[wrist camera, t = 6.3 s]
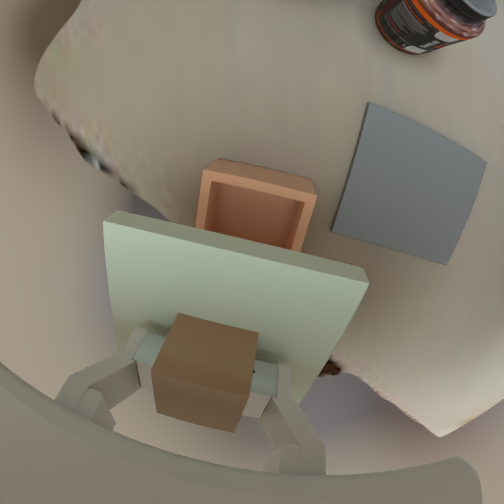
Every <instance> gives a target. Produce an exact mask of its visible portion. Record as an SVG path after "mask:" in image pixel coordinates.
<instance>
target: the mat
mask: <svg viewBox="0 0 504 504" xmlns="http://www.w3.org/2000/svg"><path fill="white" fill-rule="evenodd" d="M486 163H487V162H485V161H484V160H482V159H481V158H479V157H478V156H476V155H475V154H473V153H472V152H470V151H468V150H467V149H465V148H463V147H462V146H460V145H458V144H457V143H455V142H453V141H452V140H450V139H448V138H446V137H444V136H443V135H441V134H439V133H437V132H435V131H433V130H431V129H429V128H427V127H425V126H423V125H421V124H419V123H417V122H415V121H413V120H411V119H409V118H407V117H404V116H402V115H400V114H398V113H395V112H393V111H391V110H388V109H386V108H383V107H381V106H378V105H376V104H373V103H370V102H368V103H367V108H366V112H365V116H364V120H363V123H362V127H361V131H360V135H359V138H358V142H357V146H356V149H355V153H354V156H353V160H352V163H351V167H350V170H349V173H348V177H347V180H346V183H345V187H344V190H343V193H342V196H341V199H340V202H339V205H338V209H337V212H336V215H335V218H334V221H333V224H332V227H331V229H330V230H331V232H333V233H336V234H340V235H344V236H348V237H351V238H355V239H358V240H362V241H366V242H369V243H373V244H376V245H380V246H383V247H387V248H390V249H394V250H397V251H400V252H404V253H407V254H410V255H414V256H417V257H420V258H424V259H427V260H430V261H433V262H436V263H440V264H443V265H447V263H448V261H449V259H450V257H451V255H452V253H453V251H454V249H455V246H456V244H457V242H458V240H459V238H460V235H461V233H462V231H463V228H464V226H465V224H466V221H467V219H468V216H469V214H470V211H471V209H472V206H473V203H474V200H475V198H476V195H477V192H478V189H479V186H480V183H481V180H482V177H483V173H484V170H485V167H486Z"/></svg>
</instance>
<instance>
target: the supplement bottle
mask: <svg viewBox="0 0 504 504" xmlns="http://www.w3.org/2000/svg"><path fill="white" fill-rule="evenodd" d="M496 12H497V5H496V1H495V0H383V1H382V2H381V3H380V5H379V6H378V8H377V11H376V20H377V24H378V27H379V29H380V30H381V32H382V34H383V35H384V36H385V37H386V39H387V40H388V41H389V42H390V43H392V44H393V45H394V46H395V47H397V48H399V49H400V50H403V51H405V52H408V53H411V54H423V53H428V52H430V51H433V50H436V49H439V48H442V47H445V46H448V45H451V44H455V43H458V42H461V41H465V40H468V39H472V38H475V37H477V36H478V35H480V34H481V33H482V32H483V30H484V27H485V20H486V19H487V18H490V17H493V16H494V15H495V14H496Z"/></svg>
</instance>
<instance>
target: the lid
mask: <svg viewBox="0 0 504 504" xmlns="http://www.w3.org/2000/svg"><path fill="white" fill-rule="evenodd" d="M103 232H104V248H105V259H106V270H107V280H108V288H109V295H110V302H111V309H112V315H113V320H114V326H115V332H116V337H117V341H118V346H119V351H120V352H121V351H122V349H123V347H124V346H125V344H126V342H127V341H128V339H129V337H130V336H131V334H132V332H133V331H134V329H135V328H136V327H137V326H139V327H142V328H145V329H148V330H151V331H154V332H157V333H160V334H163V335H166V336H167V337H166V339H165V341H164V343H163V345H162V347H161V349H160V351H159V354H158V356H157V358H156V360H155V362H154V364H153V366H152V369H151V377H152V385H153V391H154V398H155V404H156V410H157V413H160V414H163V415H166V416H170V417H173V418H176V419H179V420H183V421H186V422H190V423H194V424H197V425H201V426H205V427H209V428H214V429H218V430H223V431H228V432H232V433H234V431H235V429H236V427H237V425H238V422H239V420H240V418H241V415H242V413H243V411H244V408H245V406H246V404H247V401H248V399H249V396H250V389H251V383H252V376H253V369H254V362H255V358H258V359H263V360H268V361H274V362H277V363H284V364H289V365H291V400H295V402H296V403H297V405H298V404H299V403H300V401H301V400H302V399H303V397H304V396H305V394H306V393H307V391H308V390H309V388H310V387H311V385H312V384H313V382H314V381H315V379H316V378H317V376H318V375H319V373H320V371H321V370H322V368H323V367H324V365H325V364H326V362H327V360H328V359H329V357H330V355H331V354H332V352H333V350H334V349H335V347H336V345H337V344H338V342H339V340H340V338H341V337H342V335H343V333H344V331H345V330H346V328H347V326H348V324H349V322H350V321H351V319H352V317H353V315H354V313H355V311H356V309H357V307H358V306H359V304H360V302H361V300H362V298H363V296H364V294H365V292H366V290H367V288H368V286H369V284H370V283H369V281H368V278H367V276H366V274H365V271H364V269H363V267H359V266H355V265H351V264H347V263H342V262H338V261H334V260H330V259H326V258H322V257H318V256H314V255H310V254H305V253H301V252H297V251H293V250H289V249H284V248H280V247H276V246H272V245H268V244H263V243H259V242H255V241H251V240H246V239H242V238H238V237H233V236H229V235H225V234H220V233H216V232H212V231H207V230H203V229H199V228H194V227H190V226H185V225H181V224H177V223H172V222H168V221H163V220H159V219H154V218H150V217H145V216H141V215H136V214H132V213H127V212H122V211H116V212H115V213H113V214H112V215H111V216H109V217H108V218H106V219H105V220H103Z"/></svg>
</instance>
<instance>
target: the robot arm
mask: <svg viewBox="0 0 504 504" xmlns="http://www.w3.org/2000/svg"><path fill="white" fill-rule="evenodd" d="M166 337H167V336H166V335H163V334H160V333H157V332H154V331H151V330H148V329H145V328H142V327H139V326H137V327H136V328H135V329H134V331H133V332H132V334H131V336H130V337H129V339H128V341H127V342H126V344H125V346H124V347H123V349H122V351H121V352H120V354H119V355H118V354H114V355H112V356H110V357H108V358H106V359H104V360H102V361H100V362H98V363H96V364H93V365H92V366H89V367H87V368H85V369H83V370H81V371H79V372H77V373H74V374H72V375H70V376H69V377H68V379H67V380H66V382H65V384H64V385H63V387H62V388H61V390H60V392H59V393H58V395H57V397H56V398H55V400H53V399H51V398H50V397H48V396H46V395H45V394H43V393H42V392H40V391H39V390H37V389H35V388H34V387H33V386H31V385H30V384H28V383H27V382H26V381H24V380H23V379H21V378H20V377H19V376H17V375H16V374H15V373H13V372H12V371H11V370H9V369H8V368H7V367H6V366H4V365H3V364H2V363H1V362H0V504H482V493H481V485H480V480H479V476H478V474H477V472H476V471H475V470H474V469H473V468H472V466H470V464H469V463H468V462H467V461H466V460H464V459H463V458H462V457H452V458H449V459H445V460H441V461H437V462H433V463H429V464H425V465H420V466H415V467H410V468H403V469H397V470H390V471H384V472H374V473H363V474H349V475H326V469H325V468H326V467H325V466H326V463H325V444H324V443H323V441H322V440H321V438H320V437H319V435H318V434H317V433H316V431H315V430H314V428H313V427H312V425H311V424H310V422H309V421H308V420H307V418H306V417H305V415H304V414H303V412H302V411H301V410H300V408H299V406H298V405H297V403H296V402H295V400H291V365H289V364H284V363H277V362H274V361H268V360H263V359H258V358H255V362H254V369H253V376H252V383H251V389H250V396H249V399H248V401H247V404H246V406H245V408H244V411H243V413H242V415H245V416H250V417H255V418H260V421H261V423H262V425H263V427H264V429H265V431H266V433H267V436H268V438H269V440H270V442H271V444H272V446H273V448H274V450H275V452H274V453H273V455H271V456H270V457H269V459H267V460H266V461H265V462H264V465H263V471H254V470H247V469H241V468H235V467H230V466H224V465H219V464H214V463H210V462H206V461H201V460H197V459H193V458H189V457H186V456H182V455H179V454H175V453H172V452H169V451H165V450H162V449H159V448H156V447H153V446H150V445H147V444H145V443H142V442H139V441H137V440H134V439H131V438H129V437H126V436H124V435H122V434H119V433H117V432H115V431H113V429H114V426H115V424H116V423H115V420H114V419H113V416H112V414H111V412H110V409H111V408H113V407H114V406H116V405H117V404H119V403H120V402H121V401H123V400H124V399H126V398H127V397H129V396H130V395H132V394H133V393H135V392H136V391H138V390H139V389H140V387H141V388H144V389H148V390H151V391H153V385H152V377H151V369H152V366H153V364H154V362H155V360H156V358H157V356H158V354H159V351H160V349H161V347H162V345H163V343H164V341H165V339H166Z"/></svg>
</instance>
